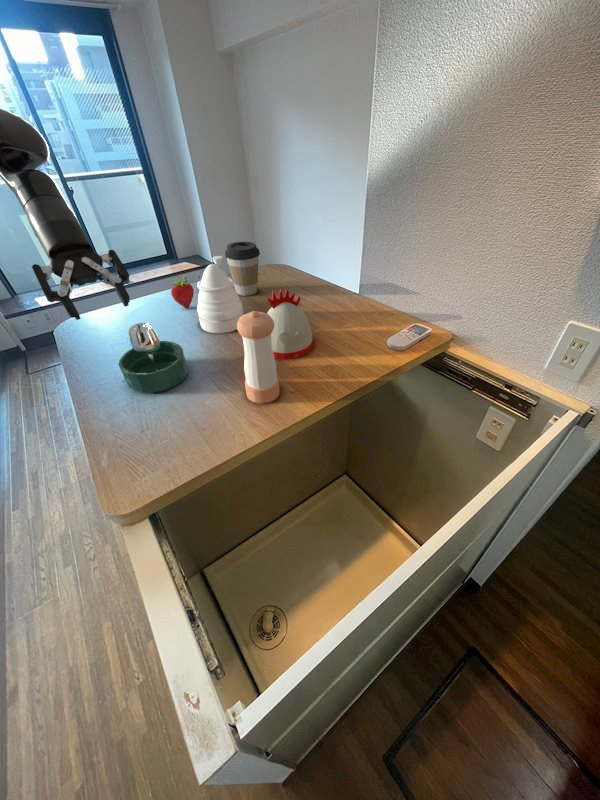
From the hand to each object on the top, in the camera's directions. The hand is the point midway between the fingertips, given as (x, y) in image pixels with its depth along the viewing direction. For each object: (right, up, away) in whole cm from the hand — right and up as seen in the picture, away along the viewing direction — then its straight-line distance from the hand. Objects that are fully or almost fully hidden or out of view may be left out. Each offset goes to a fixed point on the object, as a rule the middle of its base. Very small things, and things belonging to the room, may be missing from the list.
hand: (103, 310), depth 60 cm
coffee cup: (+18, +21, +53) cm, 59 cm away
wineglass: (+3, -11, +16) cm, 19 cm away
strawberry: (0, +13, +43) cm, 45 cm away
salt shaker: (+28, -15, +11) cm, 34 cm away
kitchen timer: (+33, -2, +26) cm, 42 cm away
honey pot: (+14, +6, +36) cm, 39 cm away
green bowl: (+3, -11, +16) cm, 20 cm away
